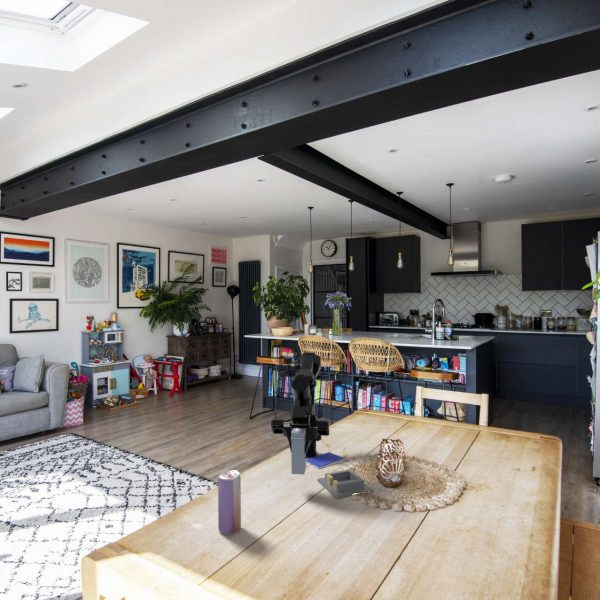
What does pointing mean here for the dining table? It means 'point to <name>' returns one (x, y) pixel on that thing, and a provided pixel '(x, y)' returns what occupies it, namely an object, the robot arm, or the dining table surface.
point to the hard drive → (324, 460)
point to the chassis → (343, 483)
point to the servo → (298, 450)
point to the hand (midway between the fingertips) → (298, 452)
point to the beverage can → (229, 502)
